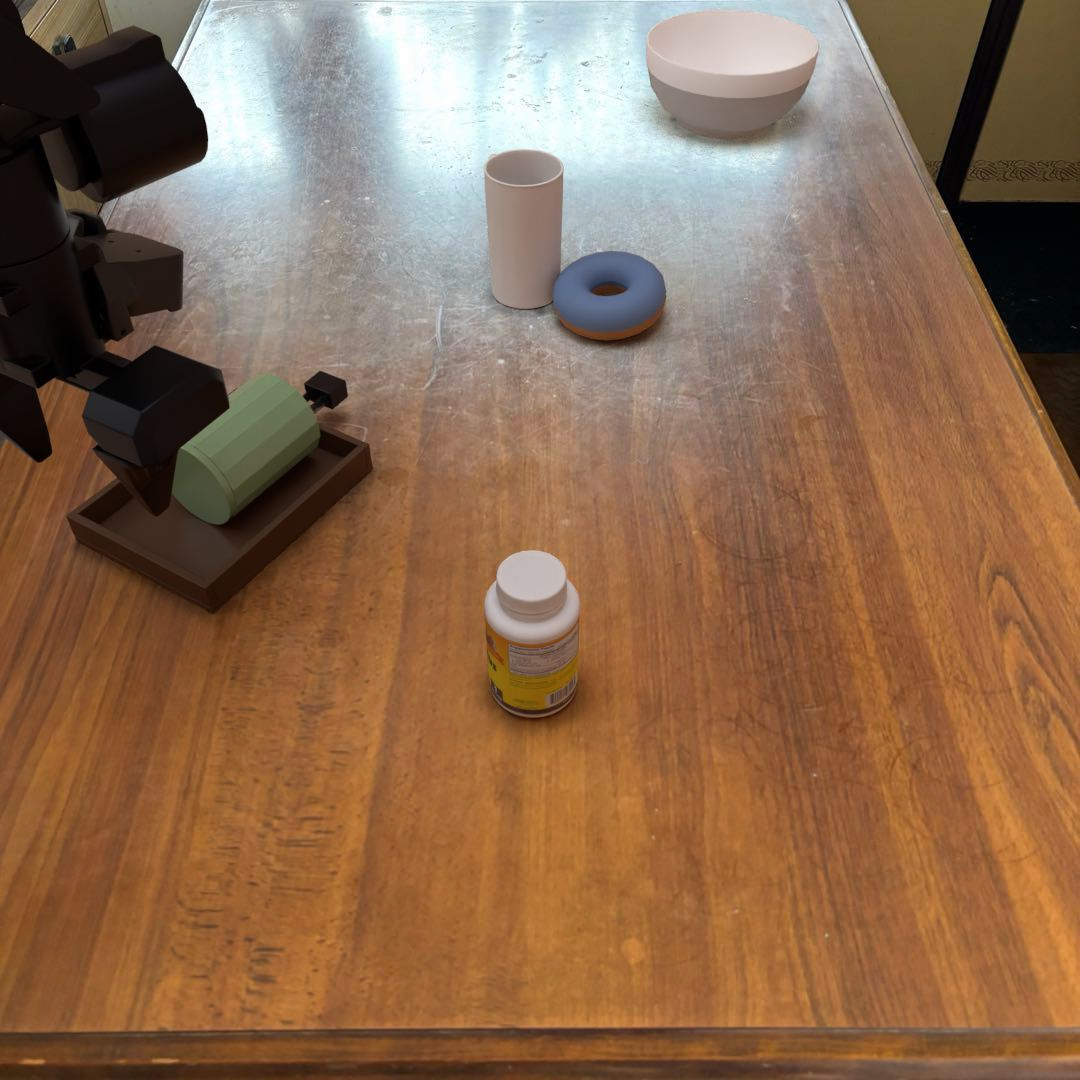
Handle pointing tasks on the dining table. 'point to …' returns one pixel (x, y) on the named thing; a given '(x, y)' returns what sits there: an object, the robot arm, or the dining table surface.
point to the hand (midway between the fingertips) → (101, 483)
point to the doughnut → (609, 314)
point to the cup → (245, 449)
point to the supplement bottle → (532, 635)
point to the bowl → (729, 69)
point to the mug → (524, 225)
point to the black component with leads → (325, 391)
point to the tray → (227, 549)
